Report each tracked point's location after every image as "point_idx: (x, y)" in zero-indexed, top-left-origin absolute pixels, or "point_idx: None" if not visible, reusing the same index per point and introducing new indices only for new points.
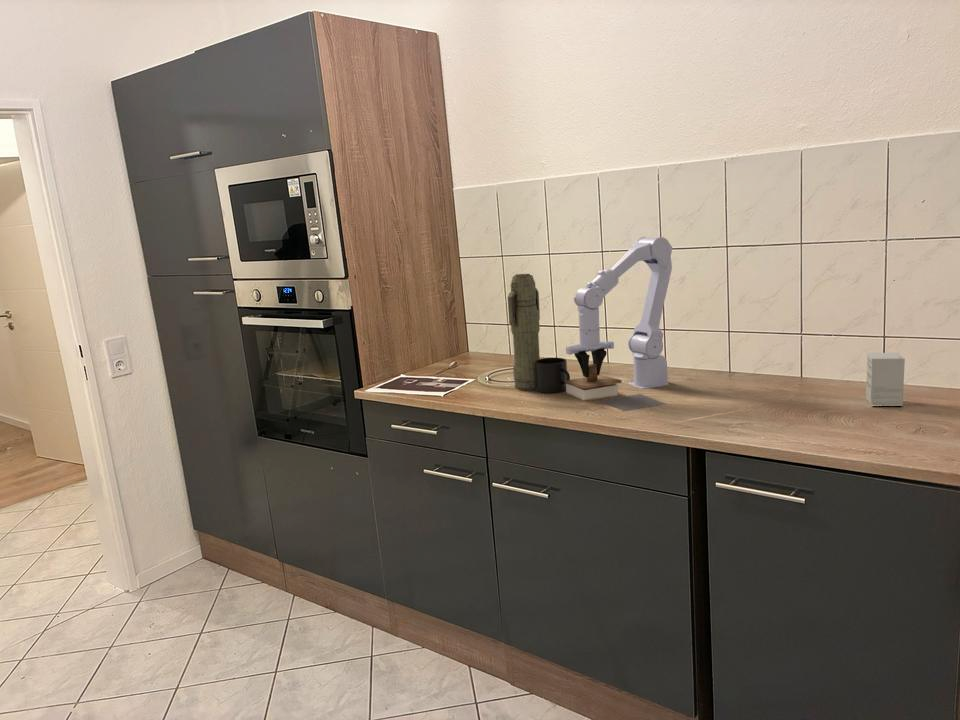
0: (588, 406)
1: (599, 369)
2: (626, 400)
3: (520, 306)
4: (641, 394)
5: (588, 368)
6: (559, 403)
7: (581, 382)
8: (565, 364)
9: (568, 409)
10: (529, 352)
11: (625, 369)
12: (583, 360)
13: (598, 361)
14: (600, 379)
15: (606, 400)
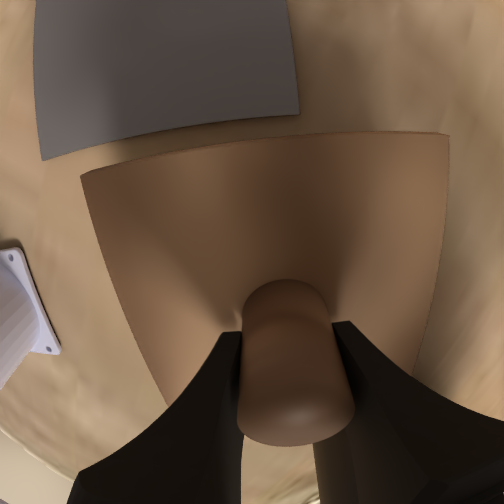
0: (394, 68)
1: (215, 360)
2: (152, 45)
3: None
4: (40, 146)
5: (345, 376)
6: (476, 211)
7: (388, 288)
8: (356, 495)
9: (485, 89)
10: None
11: (71, 461)
12: (473, 412)
13: (219, 428)
14: (218, 305)
15: (262, 93)
